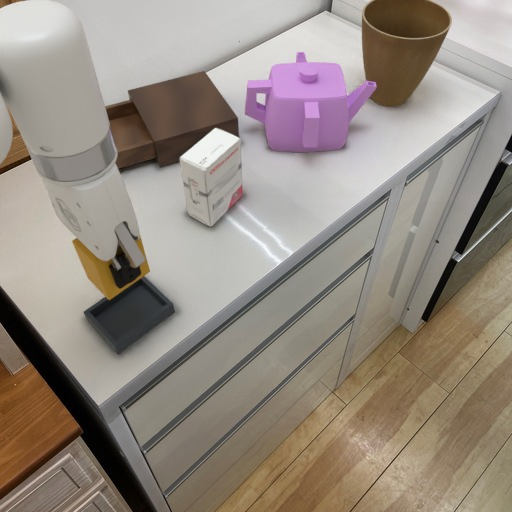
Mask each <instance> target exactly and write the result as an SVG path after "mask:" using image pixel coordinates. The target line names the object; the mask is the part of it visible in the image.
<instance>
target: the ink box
mask: <svg viewBox="0 0 512 512" xmlns="http://www.w3.org/2000/svg"><path fill="white" fill-rule="evenodd" d="M179 164H180V170H181V176H182V183H183V189H184V197H185V203H186V208H187V215H188V216H190V217H191V218H193V219H195V220H196V221H198V222H200V223H201V224H204V225H206V226H207V227H210V228H211V227H213V226H214V225H215V224H216V223H217V222H218V221H219V220H220V219H221V218H222V217H223V216H224V215H225V214H226V213H227V212H228V211H229V210H230V209H231V208H232V207H233V206H234V205H235V204H236V203H237V202H238V201H239V200H240V199H241V198H242V196H243V167H242V166H243V165H242V164H243V163H242V138H240V137H239V138H238V137H236V136H234V135H232V134H230V133H228V132H226V131H223V130H221V129H218V128H215V129H213V130H212V131H211V132H210V133H209V134H207V135H206V136H205V137H204V138H203V139H201V140H200V141H199V142H198V143H197V144H195V145H194V146H193V147H192V148H191V149H189V150H188V151H187V152H186V153H185V154H183V155H182V156H181V157H180V162H179Z"/></svg>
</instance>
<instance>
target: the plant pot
mask: <svg viewBox="0 0 512 512" xmlns="http://www.w3.org/2000/svg"><path fill="white" fill-rule="evenodd" d="M361 11H362V12H361V48H362V49H361V51H362V63H363V68H364V69H363V70H364V76H365V81H371V82H376V86H377V87H376V89H375V90H374V92H373V93H372V94H371V96H370V97H369V98H370V99H371V100H372V101H373V102H374V103H375V104H377V105H379V106H382V107H388V108H395V107H399V106H402V105H404V104H405V103H407V102H408V100H409V99H410V98H411V96H412V95H413V94H414V92H415V91H416V90H417V88H418V87H419V85H420V84H421V83H422V81H423V80H424V78H425V76H426V75H427V73H428V72H429V70H430V68H431V66H432V65H433V63H434V61H435V60H436V58H437V56H438V54H439V52H440V50H441V48H442V46H443V44H444V41H445V39H446V38H447V35H448V33H449V31H450V28H451V26H452V23H453V18H452V15H451V13H450V12H449V10H447V8H445V7H444V6H442V5H441V4H439V3H437V2H436V1H434V0H370V1H368V2H367V3H365V5H364V6H363V7H362V10H361Z"/></svg>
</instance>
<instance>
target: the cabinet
mask: <svg viewBox="0 0 512 512" xmlns="http://www.w3.org/2000/svg"><path fill="white" fill-rule="evenodd" d="M127 95H128V100H132V102H133V104H134V106H135V108H136V110H137V111H138V113H139V115H140V117H141V119H142V121H143V123H144V125H145V126H146V128H147V130H148V132H149V134H150V136H151V138H152V140H153V142H154V145H155V151H156V156H157V157H156V158H154V159H155V162H156V164H157V165H158V167H159V168H164V167H167V166H170V165H173V164H177V163H180V157H181V156H182V155H183V154H185V153H186V152H187V151H188V150H189V149H191V148H192V147H193V146H194V145H195V144H197V143H198V142H199V141H200V140H201V139H203V138H204V137H205V136H206V135H207V134H209V133H210V132H211V131H212V130H213V129H215V128H218V129H221V130H223V131H226V132H228V133H230V134H232V135H234V136H236V137H238V138H240V132H239V117H238V115H237V114H236V113H235V111H234V110H233V108H232V107H231V105H230V104H229V103H228V102H227V100H226V99H225V98H224V96H223V94H221V92H220V91H219V89H218V88H217V87H216V85H215V84H214V82H213V80H212V78H210V76H209V75H208V74H207V72H206V71H205V70H202V71H198V72H194V73H191V74H187V75H183V76H179V77H175V78H171V79H166V80H162V81H159V82H155V83H152V84H148V85H144V86H139V87H135V88H132V89H128V90H127Z"/></svg>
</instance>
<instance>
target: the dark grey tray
mask: <svg viewBox="0 0 512 512" xmlns="http://www.w3.org/2000/svg"><path fill="white" fill-rule="evenodd" d="M174 313H176V310H175V305H174V303H173V302H172V301H171V300H170V299H169V298H168V297H167V296H166V295H165V294H164V293H163V292H162V291H160V289H159V288H157V287H156V286H155V285H154V284H153V283H152V281H151V280H149V279H148V278H147V277H146V275H145V276H143V277H142V278H140V279H139V280H138V281H136V282H135V283H133V284H132V285H130V286H129V287H128V288H126V289H125V290H123V291H122V292H120V293H119V294H118V295H116V296H115V297H113V298H112V299H110V300H108V299H107V298H106V297H105V296H104V297H103V298H101V299H100V300H98V301H97V302H95V303H94V304H92V305H91V306H90V307H88V308H86V309H85V310H83V315H84V317H85V319H86V321H87V322H88V323H89V324H90V326H92V328H94V330H96V332H97V333H98V334H99V335H100V336H101V337H102V339H103V340H104V341H105V342H106V343H107V344H108V345H109V346H110V347H111V348H112V350H114V352H115V353H116V354H117V355H119V354H121V353H122V352H123V351H125V350H126V349H128V348H129V347H130V346H131V345H133V344H134V343H135V342H137V341H139V340H140V339H141V338H142V337H143V336H145V335H146V334H147V333H150V331H151V330H153V329H154V328H155V327H157V326H158V325H159V324H160V323H162V322H163V321H165V320H167V319H168V318H169V317H170V316H171V315H173V314H174Z"/></svg>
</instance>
